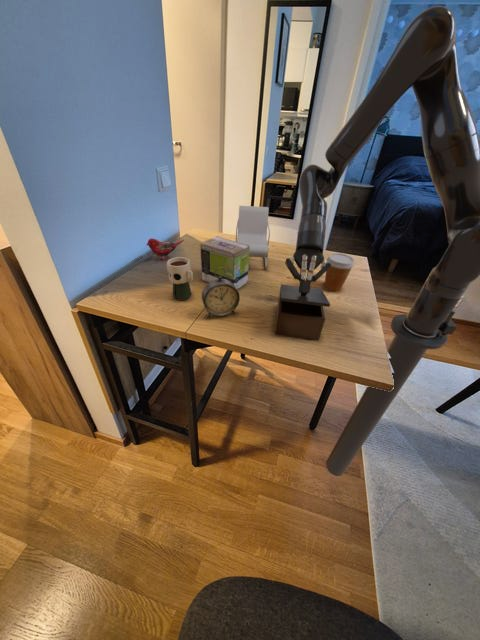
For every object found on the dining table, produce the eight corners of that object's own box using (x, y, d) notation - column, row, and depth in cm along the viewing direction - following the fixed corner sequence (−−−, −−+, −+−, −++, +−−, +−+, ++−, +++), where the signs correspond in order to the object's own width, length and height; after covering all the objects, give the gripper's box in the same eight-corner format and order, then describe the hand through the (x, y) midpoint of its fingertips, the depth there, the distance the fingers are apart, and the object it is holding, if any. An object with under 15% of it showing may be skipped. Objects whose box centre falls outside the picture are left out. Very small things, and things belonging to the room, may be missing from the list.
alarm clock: (204, 321, 79) (202, 273, 69) (201, 311, 83) (199, 264, 73) (239, 316, 82) (241, 269, 72) (234, 307, 86) (236, 261, 76)
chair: (264, 248, 126) (269, 205, 114) (266, 272, 107) (272, 223, 95) (237, 246, 126) (238, 204, 114) (234, 270, 107) (235, 221, 95)
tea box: (248, 282, 99) (251, 244, 90) (233, 293, 93) (234, 254, 84) (217, 270, 106) (217, 234, 97) (201, 280, 99) (199, 242, 90)
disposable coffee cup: (323, 279, 104) (331, 250, 97) (348, 286, 100) (358, 257, 93) (316, 289, 97) (324, 259, 90) (342, 297, 94) (352, 266, 86)
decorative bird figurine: (147, 262, 109) (143, 238, 103) (183, 252, 119) (181, 230, 113) (151, 264, 107) (146, 241, 101) (187, 254, 117) (185, 232, 111)
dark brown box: (318, 340, 74) (325, 319, 70) (274, 334, 76) (278, 312, 71) (315, 311, 86) (320, 291, 81) (277, 306, 87) (280, 286, 82)
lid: (329, 307, 67) (330, 304, 66) (280, 300, 68) (281, 297, 68) (320, 291, 81) (321, 288, 81) (280, 286, 82) (280, 283, 82)
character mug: (163, 295, 89) (157, 260, 81) (177, 287, 94) (173, 253, 86) (187, 306, 85) (183, 270, 77) (201, 297, 90) (199, 262, 82)
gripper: (289, 226, 70) (280, 288, 68) (338, 231, 69) (331, 294, 67) (286, 238, 78) (278, 294, 76) (331, 243, 76) (324, 300, 74)
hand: (303, 294), depth 71 cm, fingers closed
